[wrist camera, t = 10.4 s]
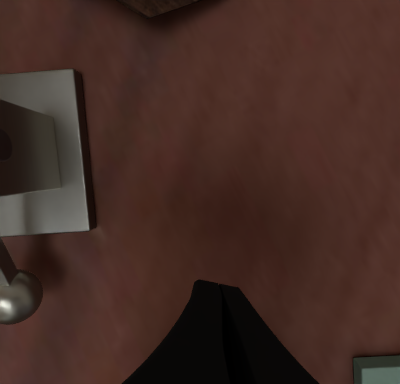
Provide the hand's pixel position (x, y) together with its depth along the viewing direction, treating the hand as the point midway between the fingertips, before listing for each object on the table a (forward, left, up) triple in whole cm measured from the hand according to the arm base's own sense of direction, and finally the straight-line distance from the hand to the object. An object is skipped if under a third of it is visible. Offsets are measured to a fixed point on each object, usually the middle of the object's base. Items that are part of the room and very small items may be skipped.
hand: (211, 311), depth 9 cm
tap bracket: (+6, +11, -11) cm, 17 cm away
